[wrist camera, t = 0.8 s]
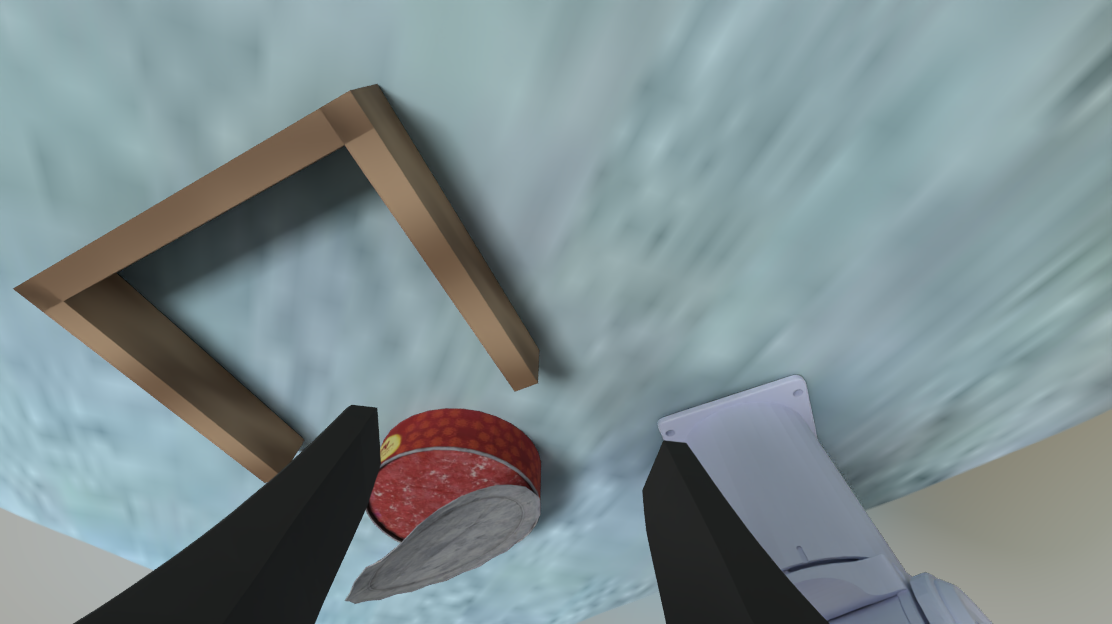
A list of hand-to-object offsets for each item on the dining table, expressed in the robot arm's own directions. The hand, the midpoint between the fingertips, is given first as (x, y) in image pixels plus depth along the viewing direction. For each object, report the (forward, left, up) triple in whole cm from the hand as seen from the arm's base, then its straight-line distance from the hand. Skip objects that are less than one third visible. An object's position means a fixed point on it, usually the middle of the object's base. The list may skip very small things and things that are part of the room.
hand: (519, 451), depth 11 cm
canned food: (-10, +10, -11) cm, 18 cm away
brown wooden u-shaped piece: (+2, +10, -10) cm, 14 cm away
